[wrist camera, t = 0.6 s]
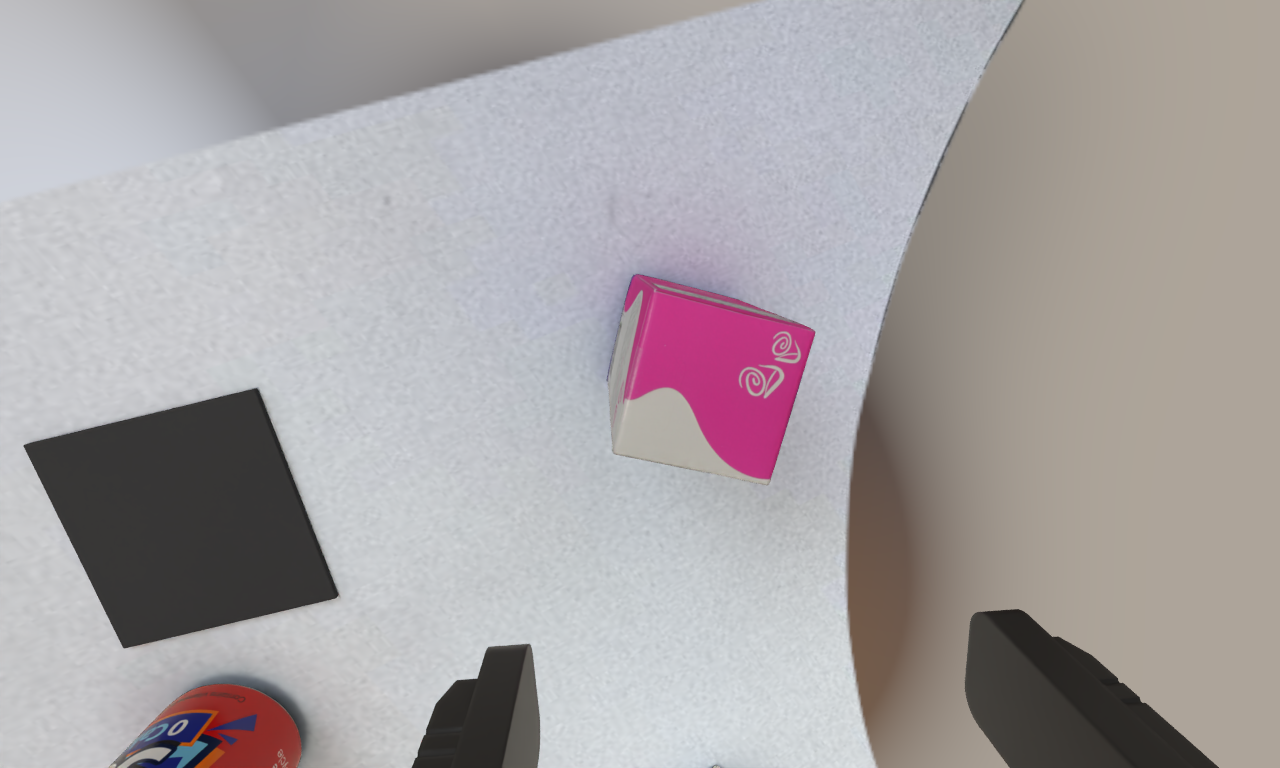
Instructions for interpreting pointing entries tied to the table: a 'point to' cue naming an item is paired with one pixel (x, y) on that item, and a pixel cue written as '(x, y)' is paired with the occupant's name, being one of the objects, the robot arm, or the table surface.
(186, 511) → the felt pad
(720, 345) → the supplement box
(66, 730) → the table surface
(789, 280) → the table surface
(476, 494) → the table surface
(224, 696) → the soda can
